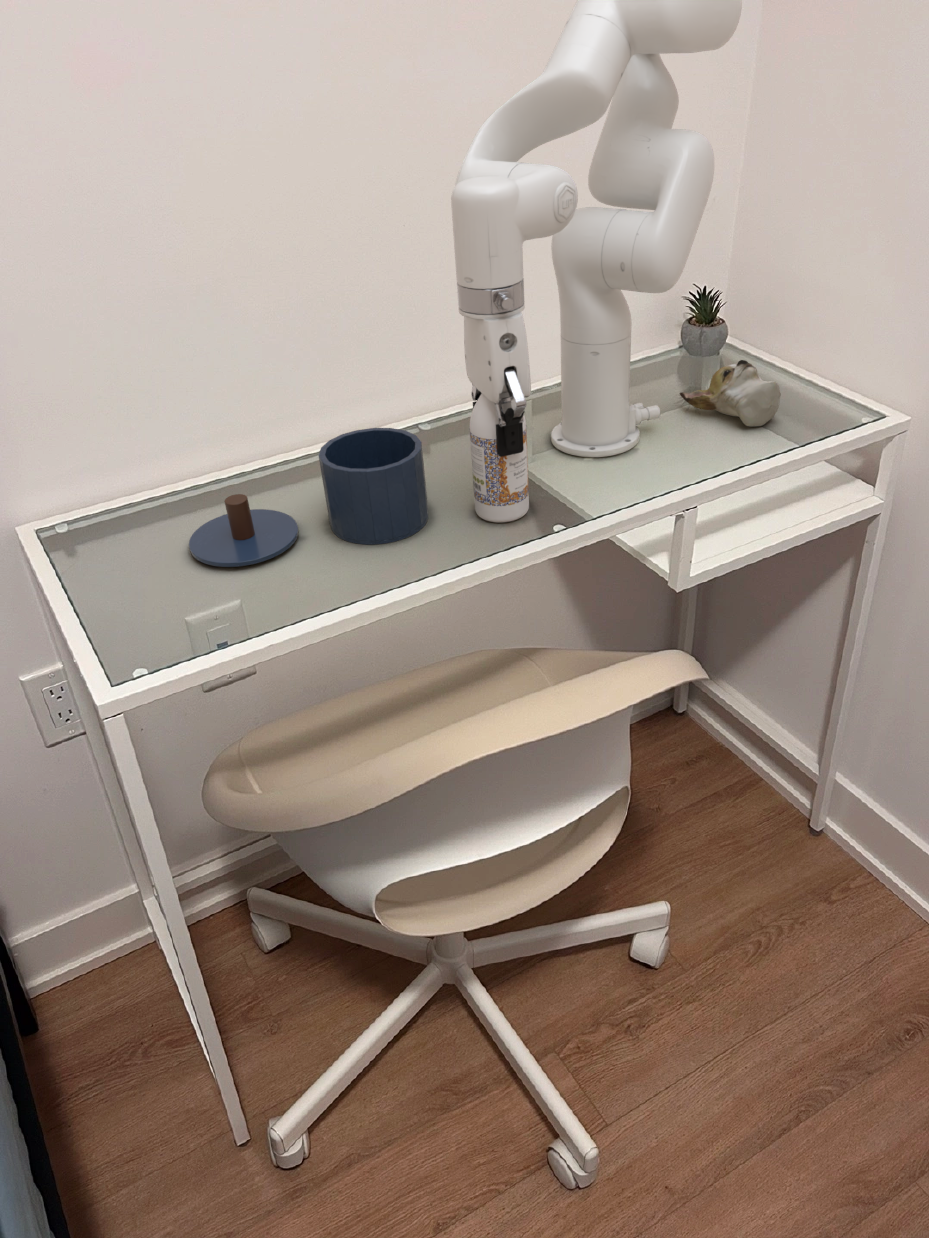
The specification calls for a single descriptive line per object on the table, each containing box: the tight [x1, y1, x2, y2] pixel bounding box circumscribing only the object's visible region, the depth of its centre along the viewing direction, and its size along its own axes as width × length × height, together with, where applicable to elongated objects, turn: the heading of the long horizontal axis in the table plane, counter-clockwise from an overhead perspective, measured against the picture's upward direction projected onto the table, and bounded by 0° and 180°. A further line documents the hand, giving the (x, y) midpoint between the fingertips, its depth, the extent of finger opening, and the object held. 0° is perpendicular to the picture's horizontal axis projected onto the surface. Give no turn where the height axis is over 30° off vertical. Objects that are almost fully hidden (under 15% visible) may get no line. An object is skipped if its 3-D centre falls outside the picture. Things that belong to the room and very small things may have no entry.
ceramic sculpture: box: [679, 359, 782, 427], centre depth 147 cm, size 11×9×15 cm
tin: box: [318, 427, 429, 546], centre depth 126 cm, size 13×13×10 cm
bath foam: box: [468, 392, 530, 523], centre depth 123 cm, size 7×7×20 cm
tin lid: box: [188, 493, 299, 568], centre depth 125 cm, size 14×14×6 cm
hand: (498, 440), depth 124 cm, fingers closed on bath foam, 7 cm apart
